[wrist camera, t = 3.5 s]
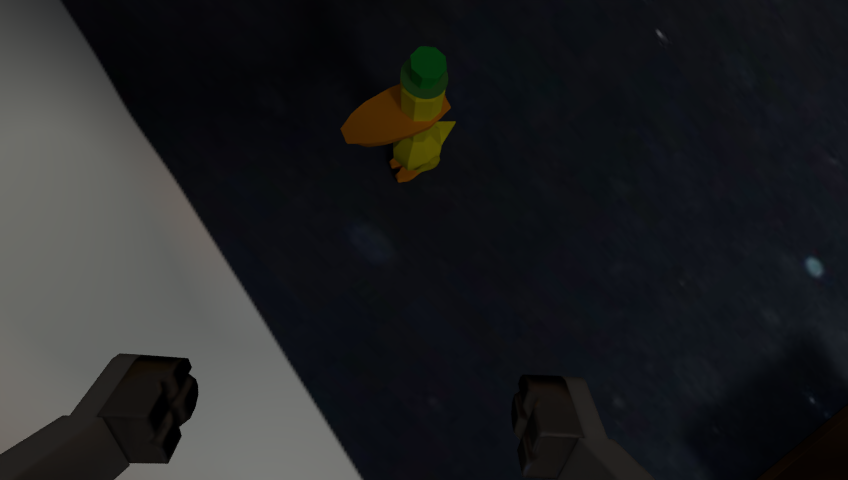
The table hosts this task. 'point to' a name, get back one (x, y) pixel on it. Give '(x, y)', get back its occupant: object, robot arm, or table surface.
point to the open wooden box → (817, 454)
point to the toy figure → (407, 116)
